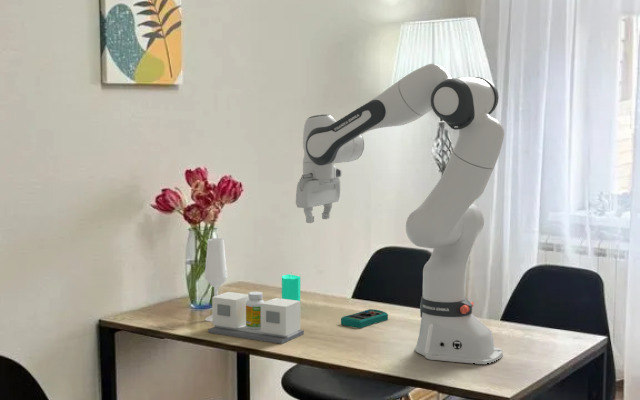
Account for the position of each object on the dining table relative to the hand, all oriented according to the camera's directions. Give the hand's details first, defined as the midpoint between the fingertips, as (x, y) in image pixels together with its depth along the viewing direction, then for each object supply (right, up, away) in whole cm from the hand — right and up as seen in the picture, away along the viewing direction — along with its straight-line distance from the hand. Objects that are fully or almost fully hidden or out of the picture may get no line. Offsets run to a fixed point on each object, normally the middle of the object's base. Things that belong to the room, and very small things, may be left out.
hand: (317, 220), depth 256 cm
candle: (-8, -29, +26) cm, 39 cm away
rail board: (-17, -32, -3) cm, 36 cm away
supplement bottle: (-17, -30, -4) cm, 35 cm away
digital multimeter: (+14, -31, +11) cm, 35 cm away
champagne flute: (-30, -30, +13) cm, 44 cm away
